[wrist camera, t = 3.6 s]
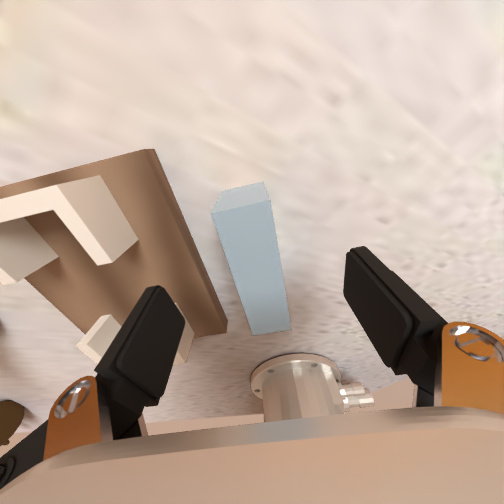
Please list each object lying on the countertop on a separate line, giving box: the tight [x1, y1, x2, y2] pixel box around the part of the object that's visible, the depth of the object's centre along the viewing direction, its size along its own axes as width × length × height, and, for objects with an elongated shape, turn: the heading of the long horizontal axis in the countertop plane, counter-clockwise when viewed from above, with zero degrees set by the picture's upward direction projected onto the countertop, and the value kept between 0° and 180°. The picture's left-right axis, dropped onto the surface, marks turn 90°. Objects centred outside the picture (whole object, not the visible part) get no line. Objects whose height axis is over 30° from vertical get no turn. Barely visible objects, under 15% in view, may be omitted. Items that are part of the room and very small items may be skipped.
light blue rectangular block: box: [211, 182, 292, 336], centre depth 14 cm, size 3×10×5 cm, turn 12°
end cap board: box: [0, 149, 228, 338], centre depth 16 cm, size 14×17×2 cm
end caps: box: [0, 175, 194, 365], centre depth 14 cm, size 8×16×3 cm, turn 12°
